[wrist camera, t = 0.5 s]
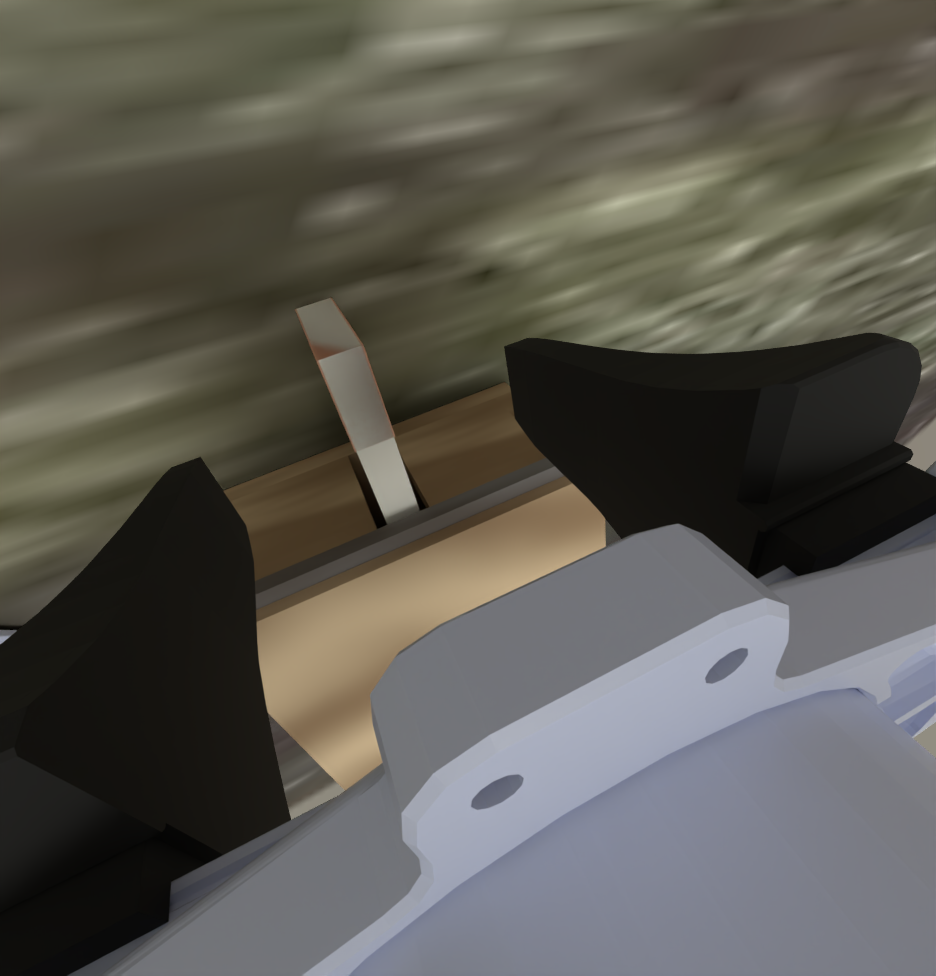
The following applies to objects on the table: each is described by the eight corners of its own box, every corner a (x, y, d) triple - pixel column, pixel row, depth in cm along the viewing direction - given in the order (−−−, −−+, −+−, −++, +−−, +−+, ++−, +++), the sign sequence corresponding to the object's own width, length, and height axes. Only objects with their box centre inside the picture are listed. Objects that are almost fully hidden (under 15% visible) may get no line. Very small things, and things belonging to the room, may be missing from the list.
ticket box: (535, 571, 32) (607, 672, 26) (330, 667, 30) (358, 804, 24) (502, 370, 23) (603, 455, 17) (199, 486, 20) (190, 635, 14)
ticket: (450, 617, 29) (484, 690, 25) (429, 627, 29) (461, 701, 25) (331, 297, 17) (363, 344, 13) (294, 309, 17) (316, 361, 13)
